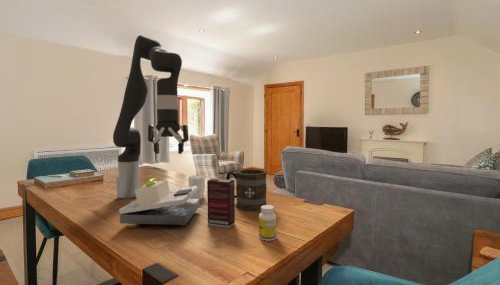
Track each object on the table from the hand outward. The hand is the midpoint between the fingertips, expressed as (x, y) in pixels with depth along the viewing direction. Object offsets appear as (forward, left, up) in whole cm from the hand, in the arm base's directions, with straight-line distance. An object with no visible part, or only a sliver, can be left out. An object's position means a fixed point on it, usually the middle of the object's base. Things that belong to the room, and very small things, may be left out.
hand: (168, 153), depth 99 cm
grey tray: (-2, 0, -24) cm, 24 cm away
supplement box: (+20, -4, -25) cm, 32 cm away
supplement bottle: (+36, -14, -25) cm, 46 cm away
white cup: (+3, +30, -25) cm, 39 cm away
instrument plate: (-2, 0, -17) cm, 17 cm away
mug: (+27, +19, -25) cm, 41 cm away
